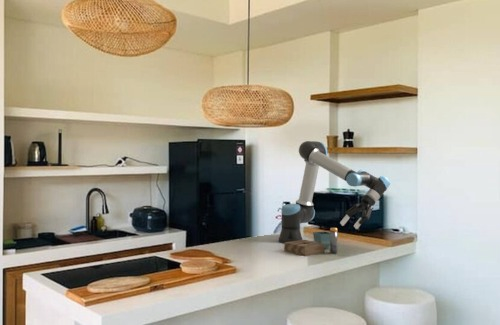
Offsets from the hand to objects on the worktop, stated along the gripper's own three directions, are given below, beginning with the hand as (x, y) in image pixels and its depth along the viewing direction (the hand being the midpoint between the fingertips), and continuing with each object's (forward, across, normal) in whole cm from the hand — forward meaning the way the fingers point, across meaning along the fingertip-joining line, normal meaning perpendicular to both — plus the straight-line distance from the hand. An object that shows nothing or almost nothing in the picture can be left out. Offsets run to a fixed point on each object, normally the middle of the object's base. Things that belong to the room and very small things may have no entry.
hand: (348, 226), depth 269 cm
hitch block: (+27, +9, +6) cm, 29 cm away
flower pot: (+15, +16, -6) cm, 23 cm away
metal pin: (+17, +1, -4) cm, 17 cm away
